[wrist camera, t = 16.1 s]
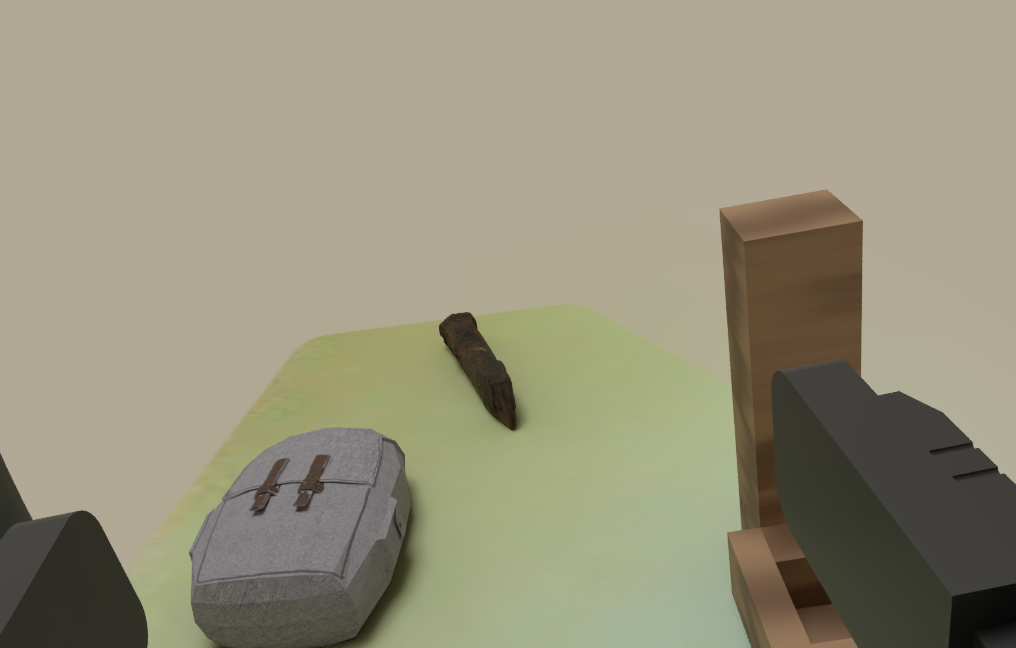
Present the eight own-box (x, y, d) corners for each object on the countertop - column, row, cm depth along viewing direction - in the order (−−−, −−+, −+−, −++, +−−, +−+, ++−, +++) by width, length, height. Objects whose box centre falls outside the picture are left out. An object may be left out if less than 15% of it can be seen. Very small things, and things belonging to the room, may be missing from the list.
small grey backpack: (394, 654, 55) (439, 463, 73) (361, 557, 51) (417, 381, 69) (179, 669, 57) (273, 481, 75) (132, 577, 53) (243, 402, 71)
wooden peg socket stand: (1160, 1017, 32) (1322, 536, 21) (894, 1049, 33) (920, 596, 22) (859, 516, 58) (863, 183, 47) (713, 539, 59) (683, 214, 48)
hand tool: (443, 349, 91) (434, 311, 89) (479, 339, 92) (470, 300, 89) (485, 442, 74) (474, 398, 72) (528, 429, 75) (519, 385, 73)
